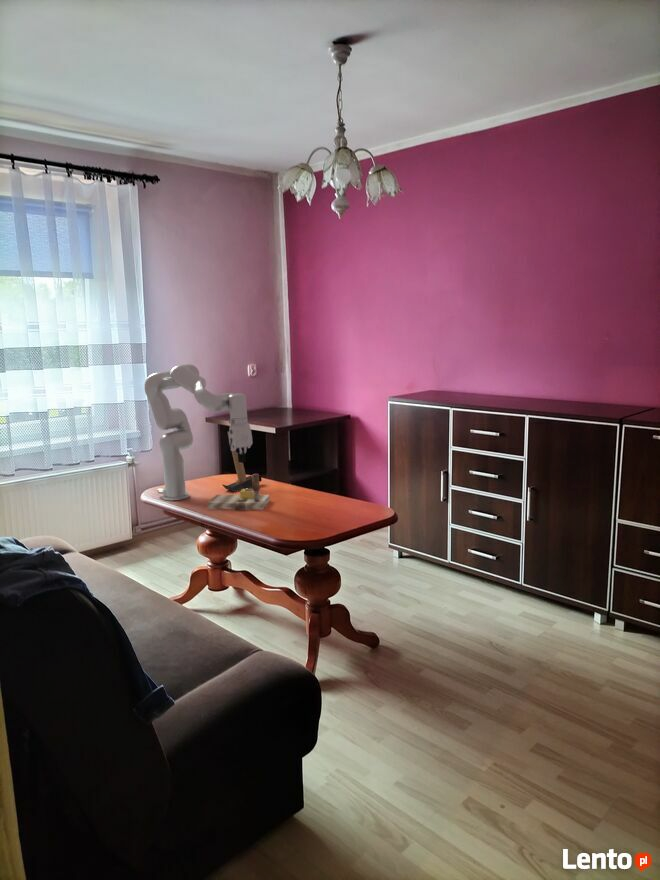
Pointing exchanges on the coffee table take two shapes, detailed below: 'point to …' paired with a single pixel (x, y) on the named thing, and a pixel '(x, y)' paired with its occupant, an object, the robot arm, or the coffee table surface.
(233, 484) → the hammer
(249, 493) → the block
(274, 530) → the coffee table surface
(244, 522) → the coffee table surface
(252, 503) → the board
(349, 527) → the coffee table surface
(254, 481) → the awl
